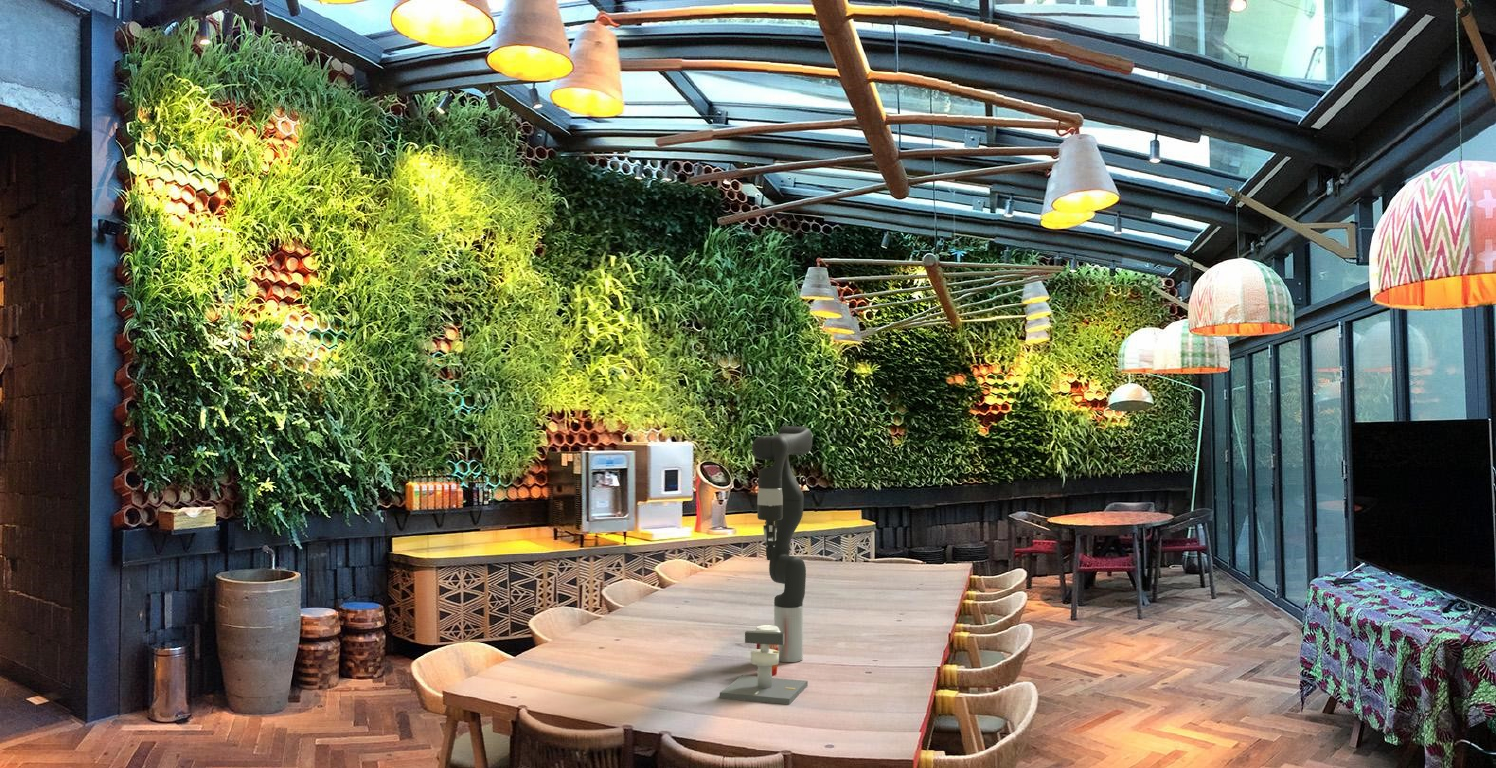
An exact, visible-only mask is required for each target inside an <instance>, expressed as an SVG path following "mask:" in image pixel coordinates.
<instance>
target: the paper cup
mask: <svg viewBox="0 0 1496 768" xmlns="http://www.w3.org/2000/svg"><path fill="white" fill-rule="evenodd" d="M755 631H765V632H781V631H780V630H779V628H778V627H777V626H774V625H772V624H771V625H769V624H767V625H758V626H757V627H756V630H755ZM778 646H779V645H774V644H769V649H773V650H777V651H778ZM756 649H761V644H756ZM777 673H778V664H777V665H773V666H772V677H773V676H776V675H777Z"/></svg>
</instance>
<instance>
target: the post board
mask: <svg viewBox="0 0 1496 768" xmlns="http://www.w3.org/2000/svg"><path fill="white" fill-rule="evenodd" d="M808 683H809V682H808V680H801V679H792V678H778V677H773V676H772V666H757V676H756V675H755V676H754V675H744V674H743V675H741V676H739V677H738V678H737V679H736V680H734V681H733V682H731V683H730V684H729V685H728V686H726V687H725V688H724V689H722V690H721V691H720V692H719V699H725V700H726V699H728V700H738V701H750V702H759V703H760V702H761V703H771V704H783V705H791V703H792V702H794V701H795V700H796V699H797V698H798V696H799V695H801V693H802V692H803V691H805V689H806V688H807V687H808Z"/></svg>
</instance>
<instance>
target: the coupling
mask: <svg viewBox="0 0 1496 768" xmlns="http://www.w3.org/2000/svg"><path fill="white" fill-rule="evenodd" d="M744 643H745V644H756V645H757V644H761V649H757V648H756V649H753V650H751V651H750V664H751V665H753V666H757V667H758V666H773V665H777V666H778V664H780V661H779V651H777V650H773V649H769V644H774V645H783V644H784V643H785V633H784V632H765V631H756V630H746V631H745V632H744Z"/></svg>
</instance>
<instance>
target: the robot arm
mask: <svg viewBox="0 0 1496 768" xmlns="http://www.w3.org/2000/svg"><path fill="white" fill-rule="evenodd" d="M812 447H813V433H812V431H811V429H809V428H808V427H805V426H795V425H794V426H792V425H790V426H789V425H785V426H784V425H783V426H781V427H780V428H779V430H778V433H776V434H773V435H759V436H757V437H756V438H755V439H754V440H753V442H752V446H751V451H752V455H754V457H755V458H756V459H758V460H762V461H766V460H767V461H774V462H773V464H772V466H769V467H768V466H767V467H764V468H761V469H759V471H758V476H757V477H758V484H757V485H758V486H757V487H758V491H757V519H758V520H761V521H765V522H764V524H765V525H763V526H762V527H763V538H764V543H765V556H766V560H767V561H769V565H768V571H769V576H770V579H771V580H772V581H773V582H775V583H777V584H781V585H784V588H783V592H781V594H777V595H776V596H775V597H774V601H773V603H774V606H773V607H774V608H773V609H774V610H773V611H774V615H773V617H774V618H773V619H774V622H773V626H777V627H778V628H779V630H780V631H781V632H784V633H785V643H784V644H783V645H779V646H778V651H779V662H784V663H795V662H796V663H797V662H800V661H803V656H804V655H803V651H804V650H803V649H804V648H803V647H804V645H803V640H804V639H803V638H804V637H803V636H804V634H803V625H804V622H803V621H804V619H803V617H804V616H803V612H804V611H803V609H804V608H803V605H804V604H803V602H804V598H805V594H806V578H807V569H806V564H805V562H804V560H803V559H802V558H801V557H799V556H793V555H790V547H791V546H790V545H791V540H792V538H793V535H794V533H795V531H796V530H797V528H798V526H799V524H800V522H801V521H802V518H803V515H804V514H803V513H804V500H805V498H804V497H805V496H804V493H803V490H802V488H801V486H800V484H799V482H798V480H797V479H796V477H795V475H794V473H793V470H792V469H791V465H790V460H789V455H795V456H796V455H797V456H799V455H800V456H802V455H807V454H808V453H810V451H811V450H812Z"/></svg>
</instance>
